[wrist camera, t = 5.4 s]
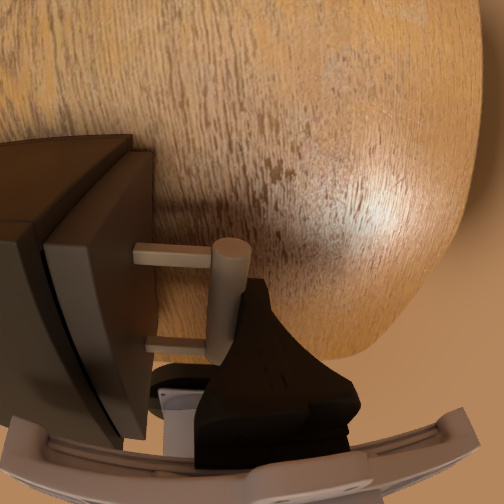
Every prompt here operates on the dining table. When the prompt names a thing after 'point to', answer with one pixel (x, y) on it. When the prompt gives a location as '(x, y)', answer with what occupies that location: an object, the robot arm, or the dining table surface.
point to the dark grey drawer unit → (46, 285)
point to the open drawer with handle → (132, 289)
